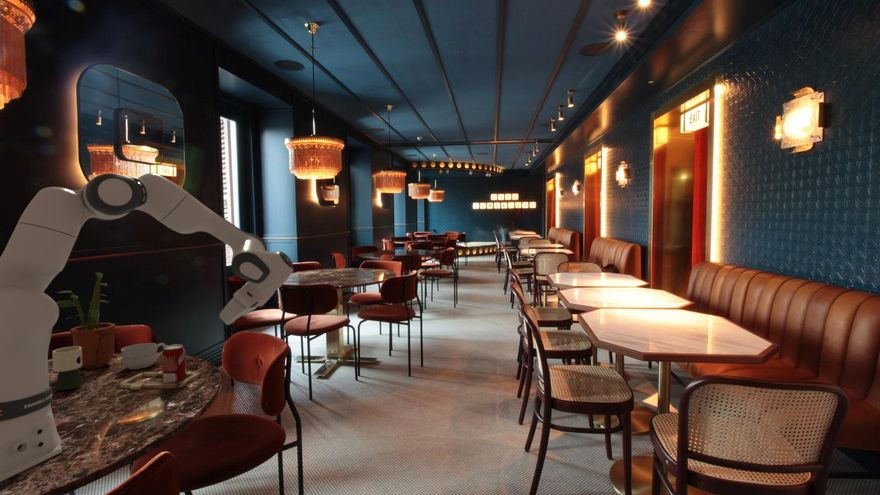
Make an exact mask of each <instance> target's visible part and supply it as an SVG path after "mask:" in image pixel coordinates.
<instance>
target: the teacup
mask: <svg viewBox="0 0 880 495" xmlns="http://www.w3.org/2000/svg"><path fill="white" fill-rule="evenodd" d="M165 346H167V345H166V344H165V343H163V342H159V343H158V344H157V343H155V342H146V343H137V344H132V345H129V346H124V347H123V348H121V349H120V351H121V358H122V365H123V366H124V367H125V368H127V369H129V370H131V371H132V370H142V369H146V368H148V367H150V366H152V365H153V363H155V362H156V360H158V359H159V357H162V352H163V350H161V352H159V353H157V351H158V349H159V348H160V347H163V348H164V347H165Z"/></svg>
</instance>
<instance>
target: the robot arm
mask: <svg viewBox="0 0 880 495" xmlns="http://www.w3.org/2000/svg"><path fill="white" fill-rule="evenodd" d="M134 210H136V211H137V210H138V211H141V212H144V213H146V214H148V215H150V216H152V218H154V219H156V221H158V222H159V223H161V224H163V225H164V226H166V227H167V228H168V229H170V230H172V231H175V232H177V233H179V234H182V235H184V234H185V235H186V234H187V235H188V234H194V233H197V232H205V233H208V234H210V235H212V236H213V237H215V238H217V240H219V241H221V242H223V244H224V243H225V245H227V246H228V247H229V248H230V249H231V250H232V253H233V254H232V259H231V266H230V268H231V270H232V272H233V273H234V274H235V275H236V276H237V277H239V278H241V279H243V280H244V281H247V282H246V283H244V284H243V286H242V287H241V288H239V289H238V290H236V291H235V292H234V293H233V297H232V298H231V299H230V300H229V302H228V303H227V304H226V305H225V306H224V307H223V309H222V311H220V313H219V319H221V321H223V322H224V324H225V325H226V326H229V325H231V324H234V322H235V321H236V320H237V319H239V318H240V317H243V316H245V315H246V314H248V313H250V312H252V311H254V310H256V309H257V308H258V307H263V306H264V305H265V304H266V303H267V302H268V301H269V300H270V299H271V297H273V295H274V294H275V292H276V291H277V290H278V289H279V288H281V287H282V285H283V284H285V282H286V281H287V280H288V279H289V277H290V276H291V275H292V273H293V272H294V263H293V261H292V260H291V258H290V257H289V256H288V255H287V254H286V253H285V252H284V251H268V247H267V244H266V242H265V241H264V240H263V238H262V237H260V236H259V235H256V234H254V233H249V232H247V231H244V230H243V229H241V228H239V227H238V226H236V224H235V225H234V224H233V223H231V222H230V221H229V220H227V219H226V218H224V217H222V216H221V215H220V214H218V213H217V212H215V211H213V210H212V209H210V208H209V207H207V206H206V205H205V204H204V203H202V202H201V201H200V200H198V199H197V198H195V197H194V196H193V195H191V193H190V192H188V191H187V190H186V189H184V188H182V186H179V185H178V184H177V183H175V182H173V181H172V180H169V179H168V178H166V177H164V176H162V175H161V174H158V173H154V172H148V173H145V174H143V175H141V176H139V177H138V178H137V177H131V176H127V175H124V174H119V173H111V172H110V173H109V172H106V173H103V174H98V175H96V176H95V177H93V178H92V179H90V181H88V182H86V184H85V185H84V186H83V187H82V188H80V189H77V190H75V189H69V188H65V187H60V186H50V187H49V186H48V187H44V188H42V189H40V190H38V192H37V193H36V194H35V196H33V198H32V199H31V201H29V204H28V205H27V206H26V208H25V209H24V211H23V213H22V214H21V216H20V218H19V220H18V222H17V224H16V226H15V228H14V230H13V232H12V234H11V236H10V238H9V240H8V242H7V244H6V247H5V248H4V250H3V252H2V254H1V255H0V483H2V482H3V481H5V480H7V479H10V478H11V477H14V476H15V475H17V474H19V473H22V472H24V471H26V470H28V469H29V468H32V467H34V466H36V465H38V464H40V463H42V462H45V461H47V460H49V459H50V458H52V457H54V456H56V455H59V454H60V453H62V452H63V447H62V439H61V437H60V435H59V432H58V430H57V426H56V422H55V417H54V414H53V410H52V404H51V403H52V402H53V396H54V395H53V392H52V391H53V390H52V386H51V385H50V381H49V379H50V378H49V360H48V358H49V357H48V356H49V350H50V348H49V347H50V343H51V340H52V339H51V338H52V333H53V328H54V326H55V324H56V323H57V321H58V319H59V317H60V307H58V305H57V304H56V303H57V302H56V301H55V300H54V299H53V298H52V297H51V296H49V295H48V294H47V293H45V291H46V289H47V288H48V286H49V285H50V284H51V283H52V280H54V279H55V277H56V276H57V275H58V274H59V273H60V272H62V271H63V269H64V268H65V266H66V265H67V264H66V263H67V262H68V259H69V257H70V256H71V252H72V250H73V247H74V245H75V243H76V241H77V239H78V236H79V234H80V231H81V229H82V227H83V226H84V224H85V223H86V222H87V221H96V222H97V221H98V222H108V221H109V222H110V221H115V220H118V219H120V218H123V217H125V216H127V214H129V213H130V212H132V211H134Z"/></svg>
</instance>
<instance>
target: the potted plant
mask: <svg viewBox="0 0 880 495" xmlns="http://www.w3.org/2000/svg"><path fill="white" fill-rule="evenodd" d="M95 275H96V282H95V285H94V291H93V296H92V297H91V300H90V301H88V303H89V304H90V305H89V310H88V314H87V321H86V319H85V315H84V313H83V311H82V307H81V305H80V302H79V300H78V298H79V296H78V295H76V294H74V293H73V291H72V290H62V291H59V292H57V294H61V293H67V294H69V293H70V294H71V295H70V298H71V300H72V301H71V300H69V299H64V300H60V301H57V302H56V304H57V305H58V308H67V307H75V306H76V309H77V312H78V315H76V317H78V316H79V318H80V322H81V325H79V326H74V327H73V328H71V329H70V330H69V331H70V334H71V335H72V345H73V346H79V347H81V348H82V366H81V367H80V368H82V369H86V370H94V369H95V370H96V369H98V368H103V367H105V366H106V365H107V364H109V363H110V362H111V360H112V359H113V357H114V352H115V333H114V332H115V331H114V330H115V329H116V323H112V322H100V305H101V303H102V302H103V303H108V301H106V300H101V298H100V297H101V296H105V297H107V295H105V294H103V293H102V294H101V286H105V287H108V285H107V284H108V282H107V283H105V282H104V283H103V282H102V283H101V280H102V278H103V275H104V274H103V272H95ZM73 317H75V316H70V317H67V318H66V320H69V319H72V318H73ZM73 346H72V347H73Z"/></svg>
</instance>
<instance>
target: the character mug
mask: <svg viewBox="0 0 880 495" xmlns="http://www.w3.org/2000/svg"><path fill="white" fill-rule="evenodd" d="M51 355H52V370H53V372H58V373H57V378H56V388H55V390H56V391H66V390H67V391H71V390H73V389H77V388H80V387H81V386H83V385H82V379H81V374H80V370H79V368H82V367H81V366H82V348H81V347H79V346H65V347H61V348H56V349H55V350H52V352H51Z"/></svg>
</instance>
